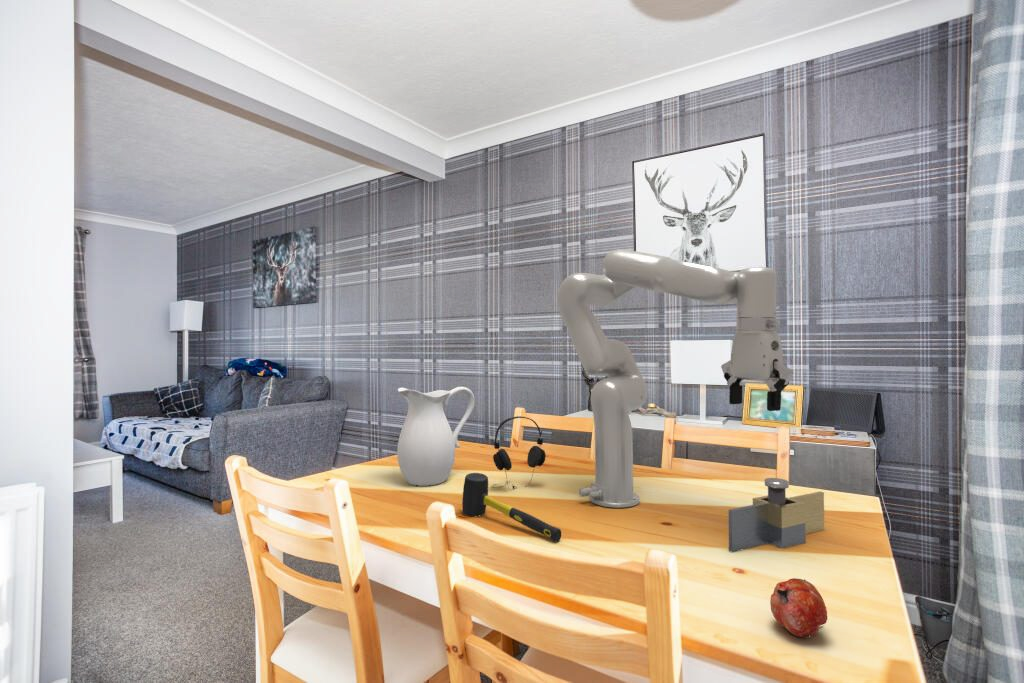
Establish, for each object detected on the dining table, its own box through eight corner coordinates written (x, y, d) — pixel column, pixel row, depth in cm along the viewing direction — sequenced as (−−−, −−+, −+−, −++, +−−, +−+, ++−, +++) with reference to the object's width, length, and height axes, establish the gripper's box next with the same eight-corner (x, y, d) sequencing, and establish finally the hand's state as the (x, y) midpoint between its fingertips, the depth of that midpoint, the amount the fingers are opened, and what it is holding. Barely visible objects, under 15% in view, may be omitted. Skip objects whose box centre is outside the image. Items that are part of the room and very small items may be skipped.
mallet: (568, 539, 108) (568, 493, 108) (550, 547, 104) (549, 500, 104) (476, 508, 129) (475, 469, 128) (457, 514, 124) (456, 474, 124)
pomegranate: (793, 628, 78) (744, 592, 77) (824, 591, 77) (775, 554, 76) (825, 664, 70) (771, 625, 69) (860, 623, 70) (806, 583, 69)
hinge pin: (779, 544, 103) (778, 484, 103) (760, 537, 107) (759, 479, 107) (794, 541, 105) (793, 482, 105) (775, 533, 109) (774, 476, 109)
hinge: (744, 558, 97) (744, 515, 97) (717, 545, 103) (716, 505, 103) (837, 534, 108) (837, 496, 108) (807, 523, 114) (807, 487, 114)
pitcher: (404, 492, 142) (402, 391, 142) (392, 477, 158) (391, 386, 157) (485, 481, 152) (484, 386, 152) (467, 468, 167) (466, 382, 167)
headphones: (533, 478, 154) (532, 411, 154) (549, 488, 144) (548, 416, 144) (485, 484, 149) (484, 414, 149) (497, 494, 139) (497, 420, 138)
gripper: (805, 326, 103) (803, 412, 103) (736, 326, 119) (734, 400, 119) (778, 326, 100) (776, 414, 100) (711, 326, 116) (709, 402, 116)
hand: (753, 407), depth 110 cm, fingers open, 9 cm apart
